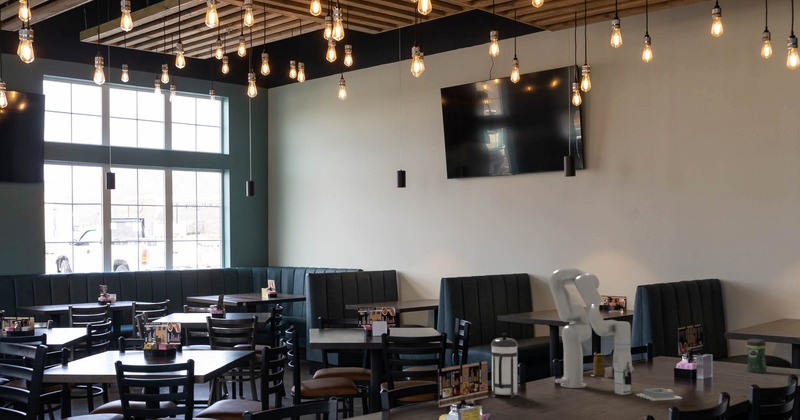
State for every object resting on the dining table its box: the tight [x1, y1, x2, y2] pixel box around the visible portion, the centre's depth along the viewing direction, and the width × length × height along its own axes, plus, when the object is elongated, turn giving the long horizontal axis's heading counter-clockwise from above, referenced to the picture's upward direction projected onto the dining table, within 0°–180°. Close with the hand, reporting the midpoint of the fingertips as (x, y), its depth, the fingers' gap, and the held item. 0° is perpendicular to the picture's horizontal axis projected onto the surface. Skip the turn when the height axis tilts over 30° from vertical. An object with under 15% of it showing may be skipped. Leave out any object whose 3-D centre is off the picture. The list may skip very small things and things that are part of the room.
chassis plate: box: [634, 387, 683, 402], centre depth 388 cm, size 16×14×3 cm
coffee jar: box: [746, 338, 767, 374], centre depth 463 cm, size 10×8×19 cm
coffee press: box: [490, 332, 519, 399], centre depth 390 cm, size 17×16×30 cm
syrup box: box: [613, 364, 633, 396], centre depth 397 cm, size 6×6×14 cm
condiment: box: [590, 353, 609, 379], centre depth 448 cm, size 7×8×12 cm
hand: (622, 382), depth 397 cm, fingers open, 8 cm apart
